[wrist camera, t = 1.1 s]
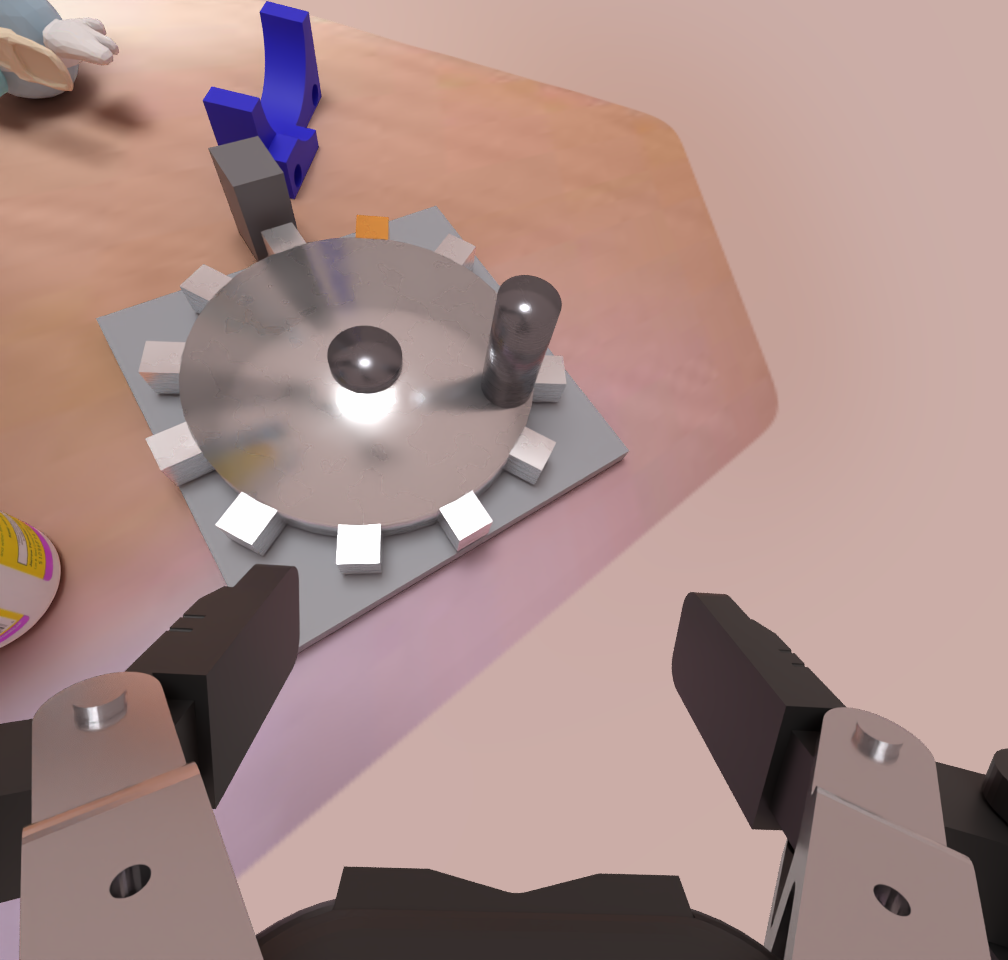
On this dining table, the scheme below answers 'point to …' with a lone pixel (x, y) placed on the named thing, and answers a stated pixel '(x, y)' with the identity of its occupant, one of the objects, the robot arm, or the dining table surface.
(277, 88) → the cable clip
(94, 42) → the toy figure
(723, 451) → the dining table surface
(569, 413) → the sprocket stand
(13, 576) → the supplement bottle
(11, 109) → the dining table surface
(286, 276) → the sprocket
